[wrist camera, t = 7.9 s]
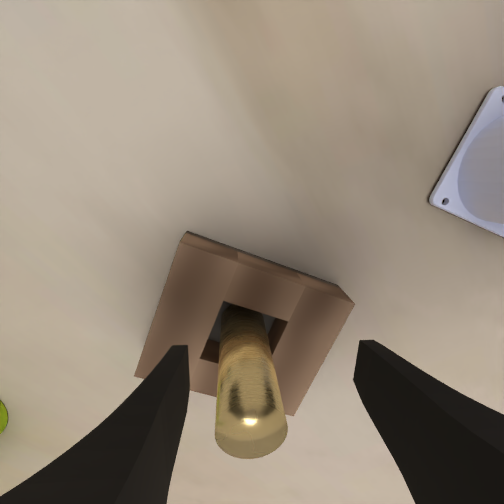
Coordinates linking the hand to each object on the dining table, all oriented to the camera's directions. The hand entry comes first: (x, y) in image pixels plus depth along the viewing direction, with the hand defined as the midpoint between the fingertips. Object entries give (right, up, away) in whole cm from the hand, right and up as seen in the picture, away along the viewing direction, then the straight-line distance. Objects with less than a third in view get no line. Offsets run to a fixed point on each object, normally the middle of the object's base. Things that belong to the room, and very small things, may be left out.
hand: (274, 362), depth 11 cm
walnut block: (-2, 0, +10) cm, 10 cm away
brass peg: (-2, -1, +9) cm, 9 cm away
